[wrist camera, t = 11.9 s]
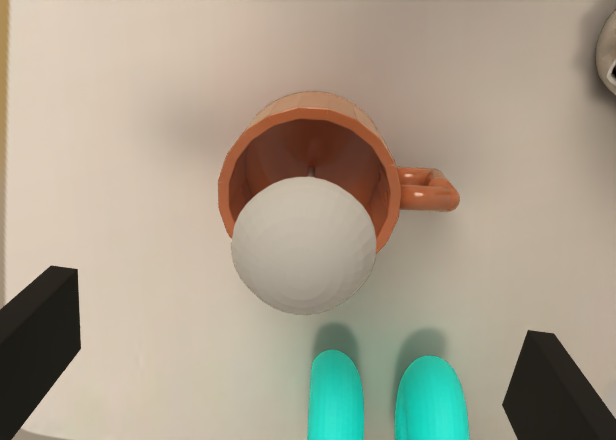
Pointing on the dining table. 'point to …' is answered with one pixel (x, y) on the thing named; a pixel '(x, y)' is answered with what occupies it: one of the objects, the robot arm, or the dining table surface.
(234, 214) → the mug
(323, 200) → the lollipop
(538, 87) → the dining table surface
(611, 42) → the cupcake
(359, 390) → the donuts
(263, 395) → the dining table surface
